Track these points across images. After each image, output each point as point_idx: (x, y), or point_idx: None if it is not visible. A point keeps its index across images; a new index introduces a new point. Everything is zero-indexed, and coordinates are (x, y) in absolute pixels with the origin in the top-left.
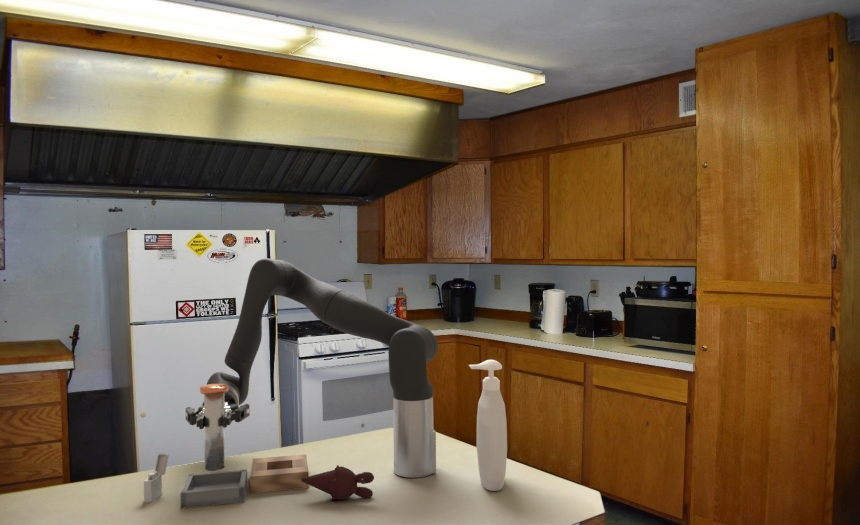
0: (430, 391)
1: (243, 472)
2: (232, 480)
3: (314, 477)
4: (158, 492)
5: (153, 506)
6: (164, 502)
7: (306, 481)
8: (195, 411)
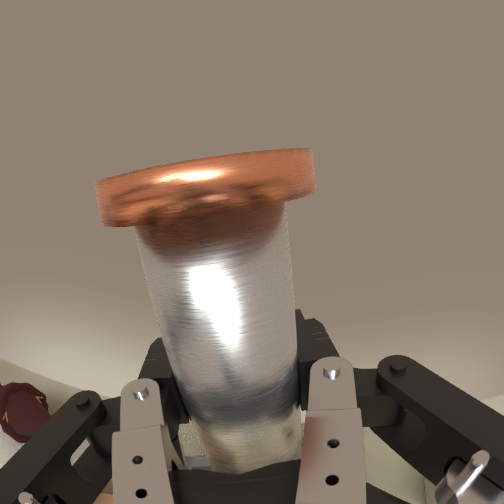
0: None
1: None
2: None
3: (43, 411)
4: (430, 497)
5: (405, 460)
6: (392, 481)
7: None
8: (462, 492)
